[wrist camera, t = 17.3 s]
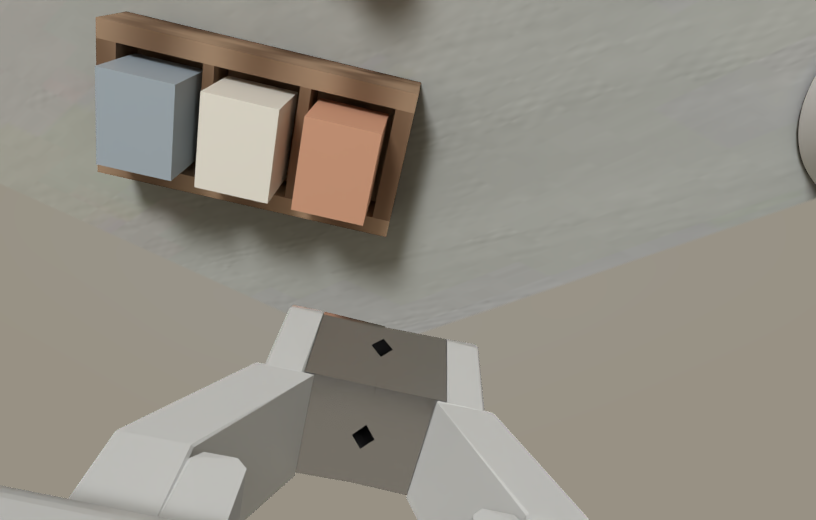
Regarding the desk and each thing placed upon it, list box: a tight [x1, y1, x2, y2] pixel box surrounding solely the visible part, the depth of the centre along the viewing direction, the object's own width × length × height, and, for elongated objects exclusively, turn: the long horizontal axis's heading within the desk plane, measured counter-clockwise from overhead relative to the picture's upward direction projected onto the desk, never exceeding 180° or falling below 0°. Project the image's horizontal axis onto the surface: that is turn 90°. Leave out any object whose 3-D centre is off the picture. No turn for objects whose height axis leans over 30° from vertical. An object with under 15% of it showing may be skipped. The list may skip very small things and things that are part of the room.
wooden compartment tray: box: [96, 12, 421, 237], centre depth 41 cm, size 20×10×4 cm, turn 77°
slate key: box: [95, 53, 203, 181], centre depth 38 cm, size 5×6×5 cm
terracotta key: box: [291, 98, 389, 226], centre depth 39 cm, size 5×6×5 cm
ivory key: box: [194, 76, 298, 204], centre depth 38 cm, size 5×6×5 cm
